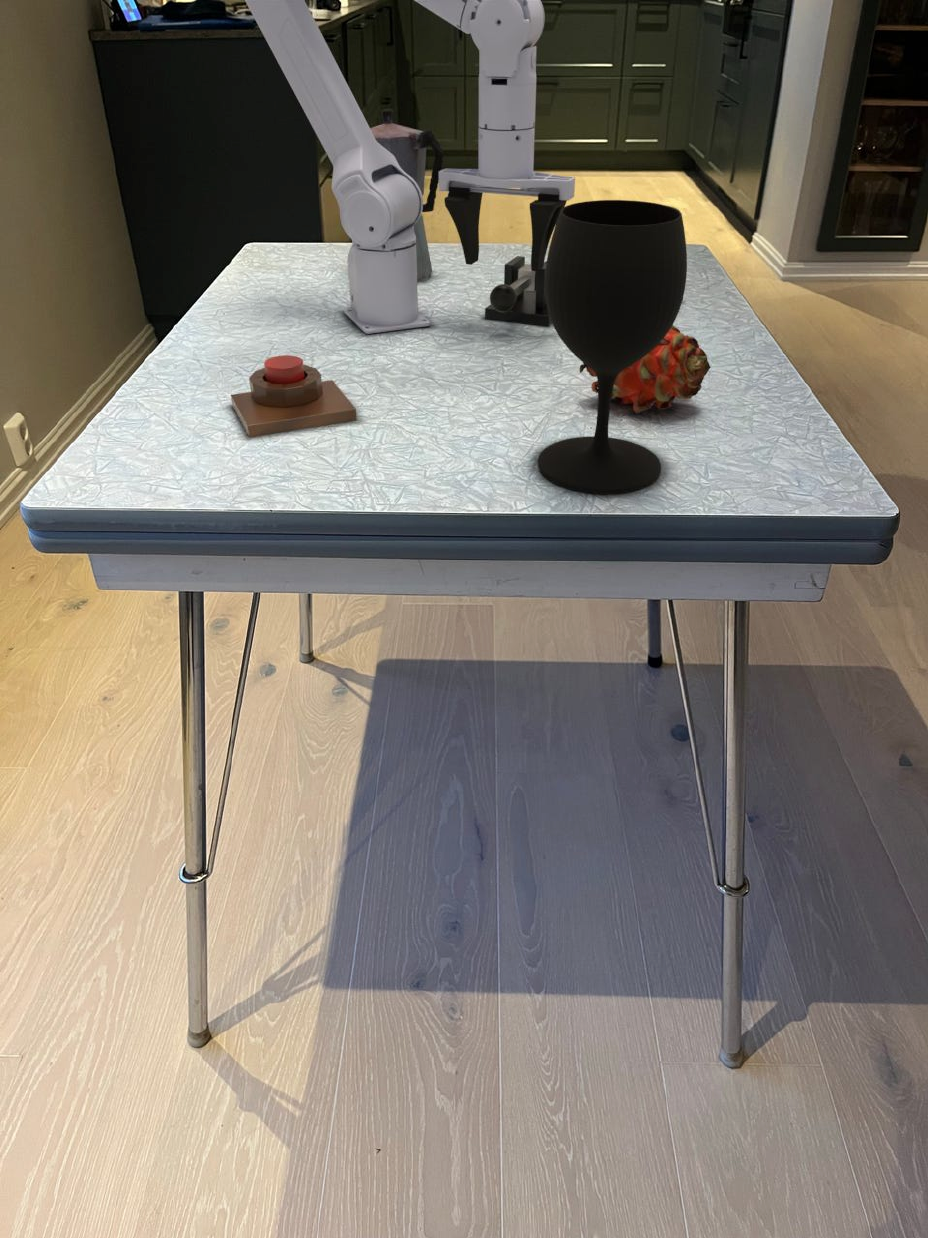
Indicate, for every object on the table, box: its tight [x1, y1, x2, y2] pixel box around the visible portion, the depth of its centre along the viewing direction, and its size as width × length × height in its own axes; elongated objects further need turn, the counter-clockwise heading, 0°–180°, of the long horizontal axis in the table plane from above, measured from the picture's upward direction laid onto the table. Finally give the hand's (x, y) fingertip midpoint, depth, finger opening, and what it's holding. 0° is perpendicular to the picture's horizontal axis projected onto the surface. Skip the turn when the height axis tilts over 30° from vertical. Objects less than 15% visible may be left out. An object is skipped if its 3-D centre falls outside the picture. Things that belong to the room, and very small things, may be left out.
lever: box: [489, 263, 537, 312], centre depth 109 cm, size 12×3×3 cm, turn 157°
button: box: [263, 354, 305, 384], centre depth 88 cm, size 4×4×2 cm
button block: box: [230, 364, 358, 439], centre depth 88 cm, size 10×9×3 cm
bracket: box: [484, 255, 552, 327], centre depth 113 cm, size 9×8×6 cm
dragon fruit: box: [579, 324, 712, 414], centre depth 88 cm, size 8×8×12 cm
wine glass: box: [537, 199, 688, 495], centre depth 73 cm, size 10×10×20 cm
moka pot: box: [369, 108, 444, 280], centre depth 122 cm, size 10×15×20 cm, turn 54°
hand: (504, 265), depth 103 cm, fingers open, 7 cm apart
